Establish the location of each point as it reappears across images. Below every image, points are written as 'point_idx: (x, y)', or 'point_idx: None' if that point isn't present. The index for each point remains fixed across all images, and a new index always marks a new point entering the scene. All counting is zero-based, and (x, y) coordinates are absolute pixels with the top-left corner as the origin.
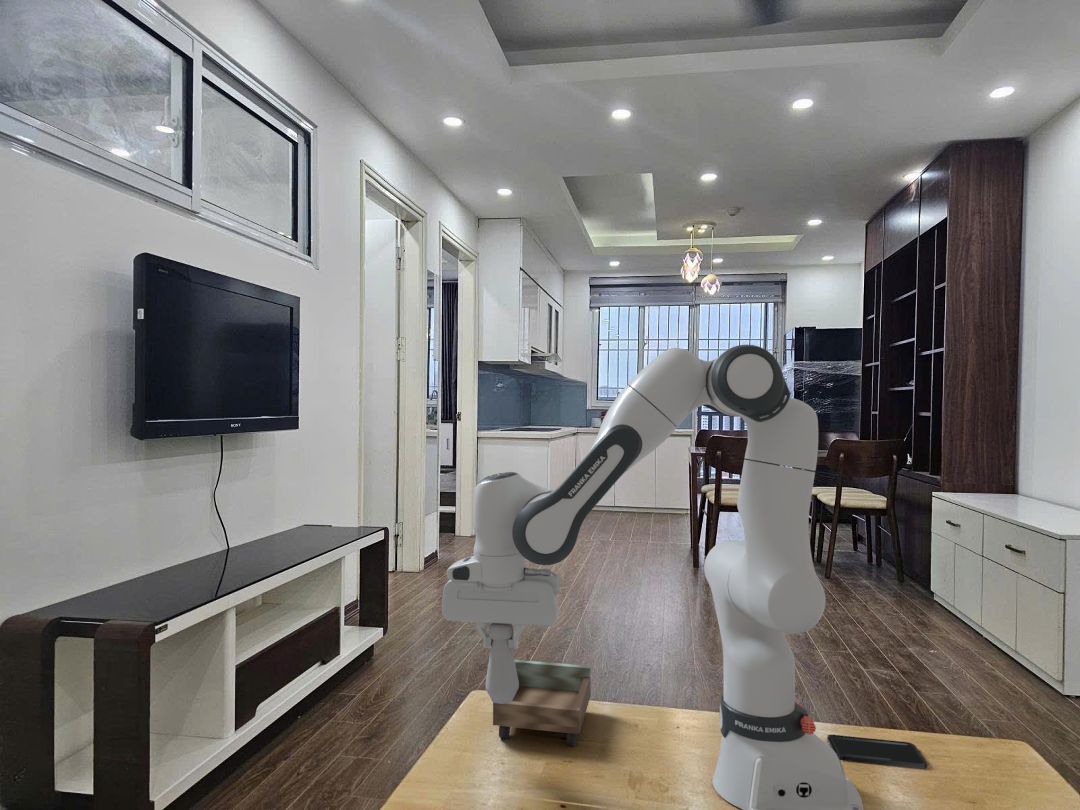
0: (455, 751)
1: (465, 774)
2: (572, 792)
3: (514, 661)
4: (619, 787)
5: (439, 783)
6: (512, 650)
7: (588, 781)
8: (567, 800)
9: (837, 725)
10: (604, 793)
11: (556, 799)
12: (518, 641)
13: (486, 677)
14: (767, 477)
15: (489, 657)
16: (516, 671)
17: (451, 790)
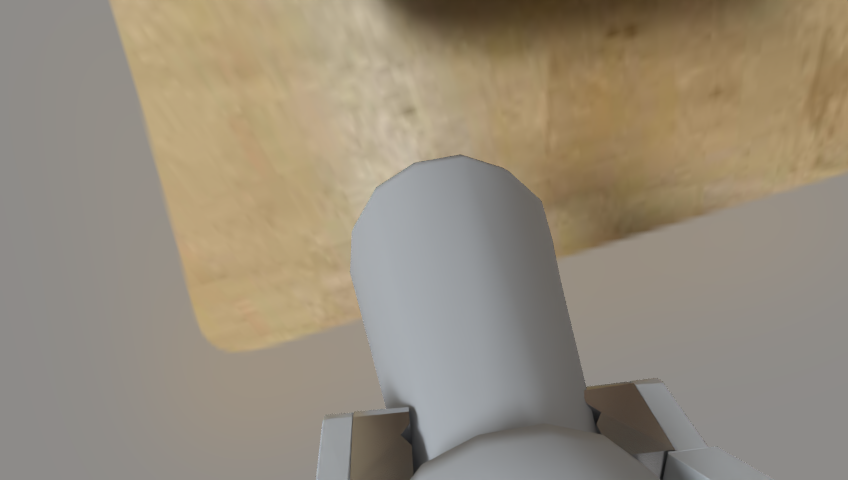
0: (214, 89)
1: (319, 207)
2: (645, 195)
3: (560, 286)
4: (778, 132)
5: (269, 269)
6: (575, 343)
7: (690, 130)
8: (634, 232)
9: None
10: (733, 173)
11: (605, 237)
12: (678, 413)
13: (355, 291)
14: None
15: (380, 379)
16: (550, 242)
17: (319, 286)
